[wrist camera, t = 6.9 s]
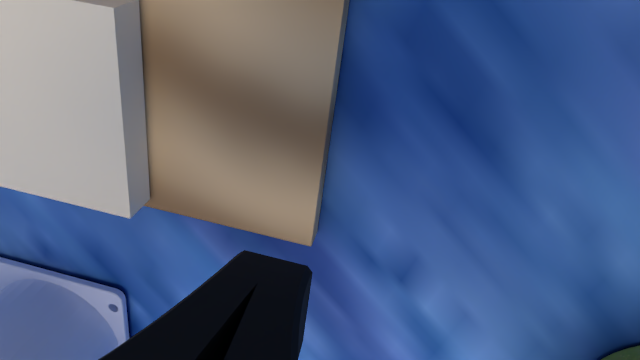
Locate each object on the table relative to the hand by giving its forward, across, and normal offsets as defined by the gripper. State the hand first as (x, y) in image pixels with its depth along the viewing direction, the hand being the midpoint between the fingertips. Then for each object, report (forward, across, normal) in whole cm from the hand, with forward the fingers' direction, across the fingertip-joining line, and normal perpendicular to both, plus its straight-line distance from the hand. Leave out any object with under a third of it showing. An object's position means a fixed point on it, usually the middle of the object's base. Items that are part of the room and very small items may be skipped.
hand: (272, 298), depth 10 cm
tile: (+8, +8, +2) cm, 12 cm away
